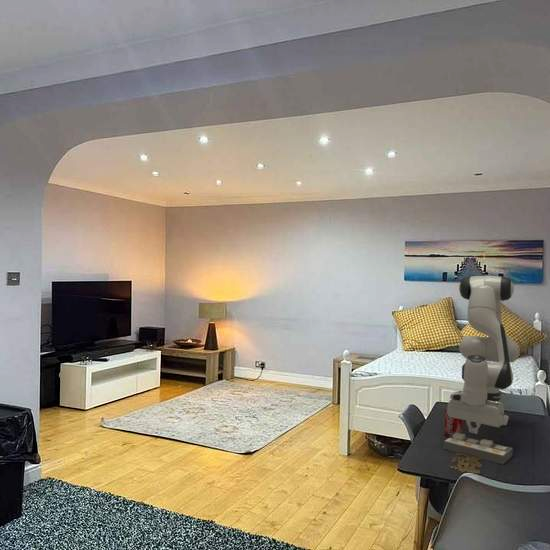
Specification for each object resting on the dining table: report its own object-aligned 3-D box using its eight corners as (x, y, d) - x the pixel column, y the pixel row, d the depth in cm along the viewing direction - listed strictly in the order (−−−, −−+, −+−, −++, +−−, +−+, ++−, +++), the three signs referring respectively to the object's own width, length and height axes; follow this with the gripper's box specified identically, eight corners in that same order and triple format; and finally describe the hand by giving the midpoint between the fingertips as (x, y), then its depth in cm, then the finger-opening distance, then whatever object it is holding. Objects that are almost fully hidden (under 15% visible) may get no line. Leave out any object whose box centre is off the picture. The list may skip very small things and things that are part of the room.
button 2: (469, 444, 200) (469, 438, 200) (478, 447, 198) (478, 440, 198) (466, 447, 197) (466, 440, 197) (475, 449, 195) (475, 442, 195)
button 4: (496, 451, 193) (497, 445, 193) (506, 454, 191) (507, 447, 191) (494, 454, 191) (494, 447, 190) (504, 456, 188) (504, 449, 188)
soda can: (463, 439, 209) (464, 410, 209) (445, 437, 210) (446, 408, 210) (460, 434, 216) (461, 405, 216) (443, 432, 217) (444, 404, 217)
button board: (454, 441, 206) (454, 433, 206) (512, 455, 192) (512, 447, 192) (443, 448, 196) (443, 440, 196) (503, 464, 183) (503, 455, 183)
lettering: (457, 448, 198) (457, 446, 198) (485, 453, 194) (485, 451, 194) (448, 470, 176) (448, 467, 176) (479, 476, 171) (479, 474, 171)
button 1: (456, 438, 203) (456, 432, 203) (465, 440, 201) (465, 434, 201) (452, 440, 200) (453, 434, 200) (461, 443, 198) (462, 436, 198)
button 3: (482, 445, 197) (483, 438, 197) (492, 447, 194) (492, 441, 194) (479, 447, 194) (480, 441, 194) (489, 450, 192) (490, 443, 191)
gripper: (505, 401, 193) (503, 437, 194) (452, 391, 206) (450, 424, 207) (500, 404, 188) (499, 441, 189) (446, 394, 201) (444, 428, 202)
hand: (473, 432), depth 198 cm, fingers closed
